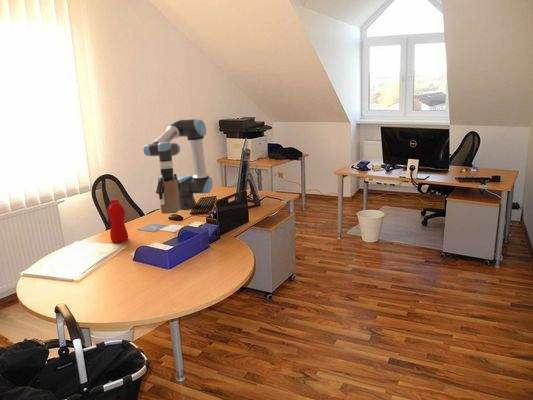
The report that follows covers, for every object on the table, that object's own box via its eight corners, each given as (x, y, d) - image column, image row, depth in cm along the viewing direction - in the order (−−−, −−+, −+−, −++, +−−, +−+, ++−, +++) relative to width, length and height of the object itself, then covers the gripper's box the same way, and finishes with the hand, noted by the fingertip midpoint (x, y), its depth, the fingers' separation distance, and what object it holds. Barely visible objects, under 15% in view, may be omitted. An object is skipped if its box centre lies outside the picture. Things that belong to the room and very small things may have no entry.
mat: (171, 225, 288) (171, 224, 288) (186, 227, 282) (186, 226, 282) (159, 230, 278) (159, 229, 278) (173, 232, 272) (173, 231, 272)
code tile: (153, 223, 293) (153, 223, 293) (169, 225, 286) (169, 225, 286) (137, 229, 281) (137, 229, 281) (154, 232, 275) (153, 231, 274)
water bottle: (132, 240, 261) (127, 198, 255) (113, 244, 256) (107, 202, 250) (128, 236, 269) (123, 196, 263) (109, 240, 264) (104, 199, 258)
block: (177, 213, 272) (174, 181, 267) (161, 214, 272) (157, 182, 268) (180, 209, 282) (177, 178, 277) (165, 209, 282) (161, 179, 277)
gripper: (175, 164, 283) (178, 196, 288) (147, 171, 262) (151, 206, 267) (184, 164, 279) (187, 197, 284) (157, 171, 258) (160, 207, 263)
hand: (170, 201), depth 276 cm, fingers closed on block, 13 cm apart
